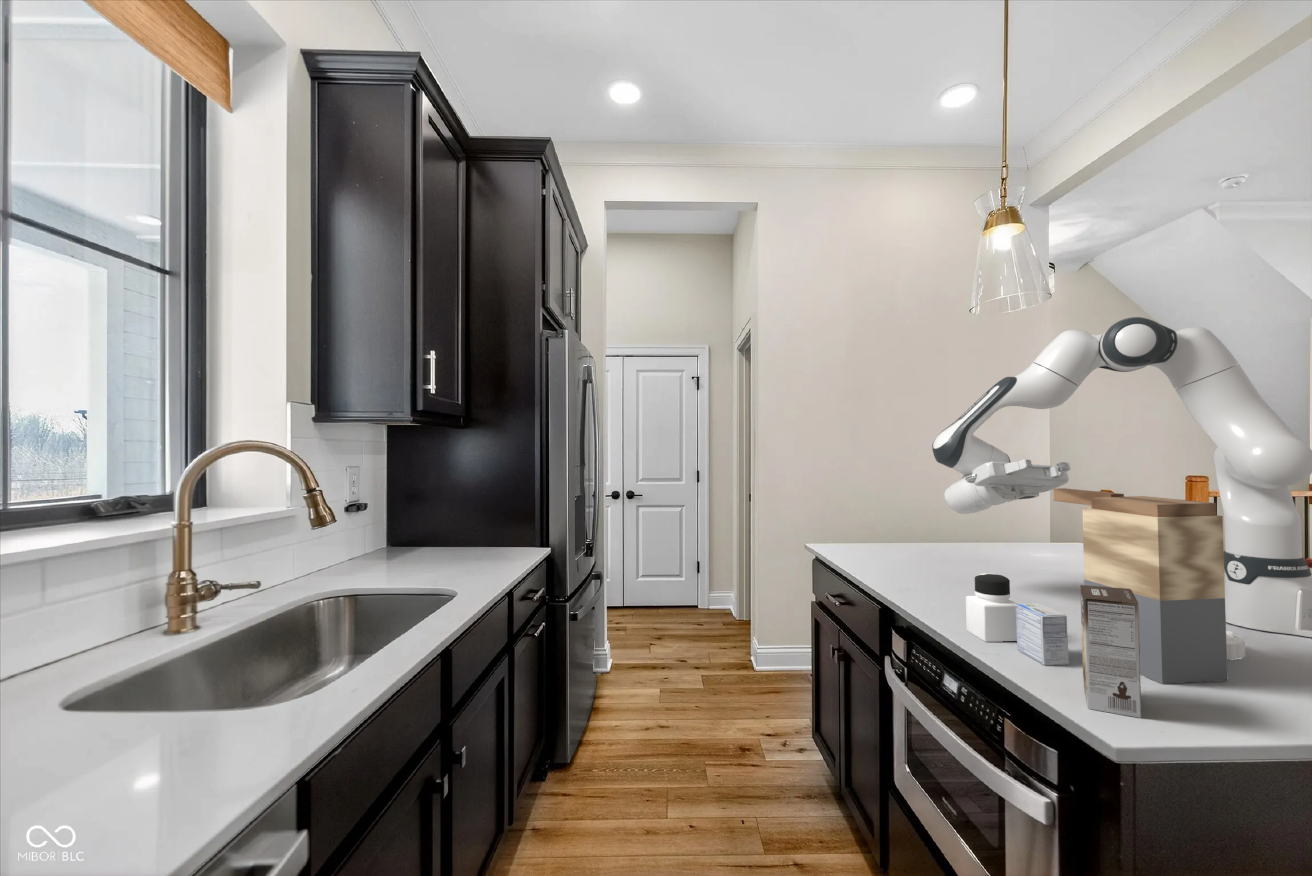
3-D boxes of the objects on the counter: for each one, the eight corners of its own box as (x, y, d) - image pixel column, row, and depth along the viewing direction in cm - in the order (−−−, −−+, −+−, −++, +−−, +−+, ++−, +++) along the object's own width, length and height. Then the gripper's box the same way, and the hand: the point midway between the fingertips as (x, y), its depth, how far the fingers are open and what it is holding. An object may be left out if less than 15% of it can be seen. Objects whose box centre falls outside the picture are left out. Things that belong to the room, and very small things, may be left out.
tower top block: (1140, 577, 109) (1138, 506, 109) (1224, 598, 94) (1222, 515, 94) (1084, 579, 108) (1082, 507, 108) (1159, 600, 93) (1157, 517, 93)
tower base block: (1143, 648, 109) (1140, 577, 109) (1227, 680, 94) (1224, 598, 94) (1086, 650, 108) (1084, 579, 108) (1162, 683, 93) (1159, 600, 93)
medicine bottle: (1022, 641, 114) (1020, 579, 114) (984, 642, 114) (983, 579, 114) (1001, 630, 121) (999, 571, 121) (965, 630, 121) (964, 571, 121)
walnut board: (1082, 500, 122) (1082, 487, 122) (1216, 515, 95) (1215, 499, 95) (1036, 501, 121) (1035, 489, 121) (1157, 517, 94) (1157, 501, 94)
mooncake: (1181, 658, 104) (1181, 638, 104) (1142, 637, 116) (1141, 618, 116) (1264, 663, 101) (1263, 642, 101) (1215, 640, 113) (1214, 621, 113)
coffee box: (1081, 686, 93) (1079, 583, 93) (1134, 695, 89) (1131, 588, 90) (1086, 709, 85) (1083, 596, 85) (1144, 719, 82) (1140, 602, 82)
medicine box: (1069, 665, 101) (1068, 614, 101) (1043, 666, 101) (1041, 615, 102) (1040, 649, 109) (1039, 602, 109) (1016, 650, 109) (1014, 602, 109)
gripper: (958, 467, 137) (1001, 447, 124) (1034, 472, 141) (1084, 453, 128) (963, 494, 135) (1008, 475, 122) (1040, 498, 139) (1092, 481, 126)
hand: (1048, 464), depth 125 cm, fingers open, 8 cm apart
